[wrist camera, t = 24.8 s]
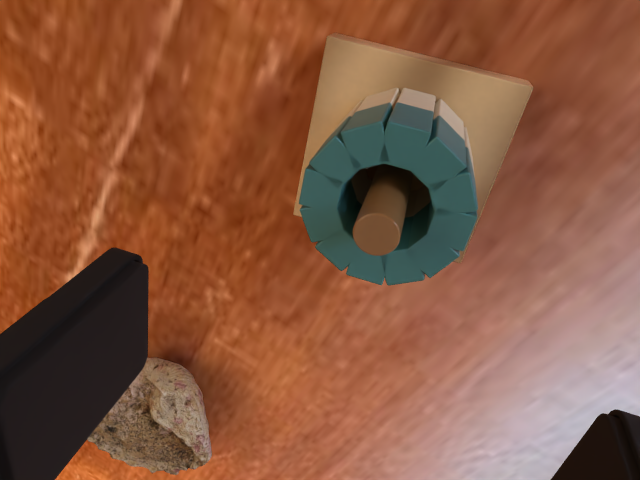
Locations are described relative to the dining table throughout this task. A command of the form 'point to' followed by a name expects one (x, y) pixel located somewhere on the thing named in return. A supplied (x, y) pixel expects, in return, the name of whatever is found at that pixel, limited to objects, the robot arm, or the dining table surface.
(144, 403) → the grey rough lump
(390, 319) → the dining table surface
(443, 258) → the teal grooved ring
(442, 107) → the ivory notched ring
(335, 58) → the stand
